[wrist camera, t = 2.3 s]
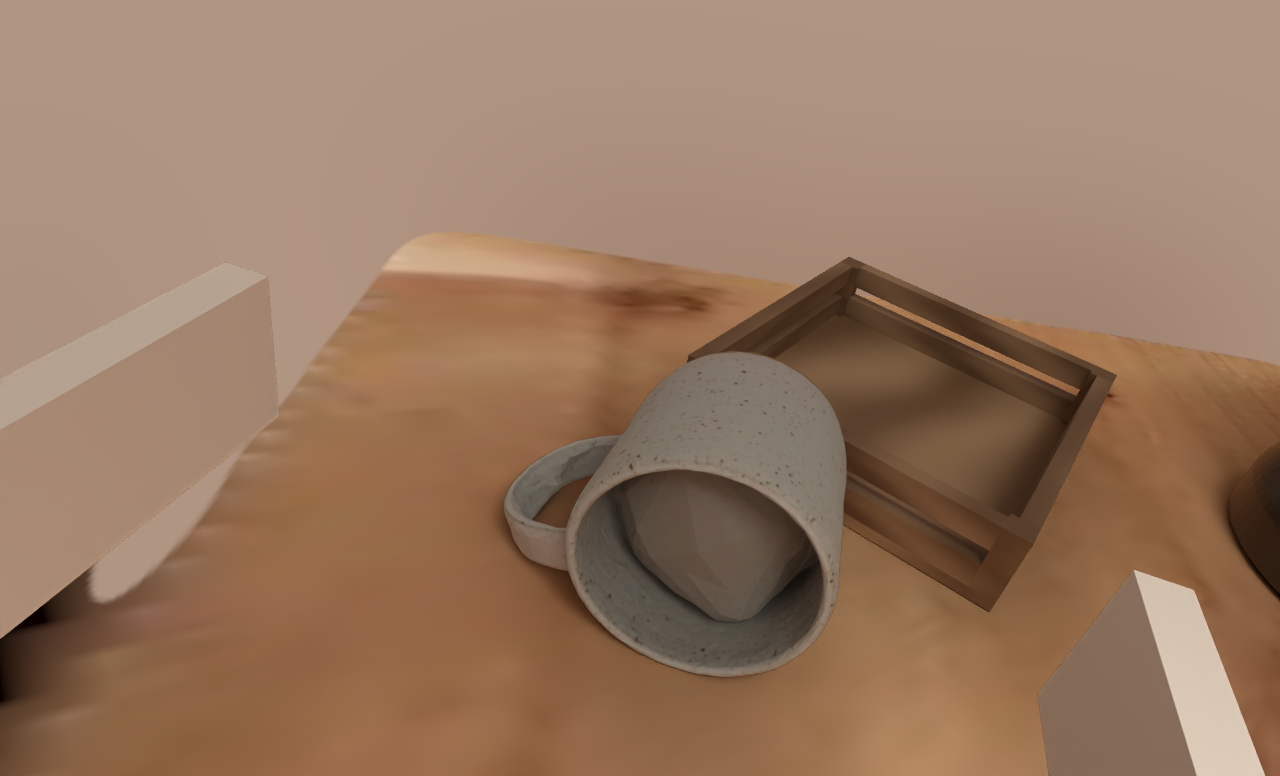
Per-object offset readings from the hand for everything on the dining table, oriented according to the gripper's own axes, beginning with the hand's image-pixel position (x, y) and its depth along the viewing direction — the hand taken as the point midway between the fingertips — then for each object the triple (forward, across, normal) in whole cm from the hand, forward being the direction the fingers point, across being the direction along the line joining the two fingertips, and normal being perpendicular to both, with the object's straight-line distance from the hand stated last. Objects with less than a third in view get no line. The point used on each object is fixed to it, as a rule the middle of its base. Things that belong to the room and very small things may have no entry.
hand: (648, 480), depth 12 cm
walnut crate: (+23, +7, -12) cm, 27 cm away
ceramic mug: (+10, 0, -12) cm, 16 cm away
